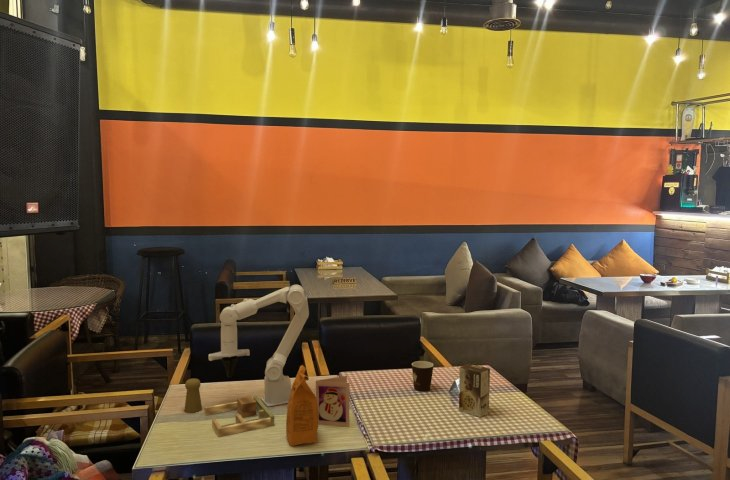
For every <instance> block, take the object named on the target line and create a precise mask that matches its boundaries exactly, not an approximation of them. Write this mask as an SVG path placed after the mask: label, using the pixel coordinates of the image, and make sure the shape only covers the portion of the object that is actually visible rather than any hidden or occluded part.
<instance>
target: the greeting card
mask: <svg viewBox="0 0 730 480" xmlns="http://www.w3.org/2000/svg"><path fill="white" fill-rule="evenodd" d="M350 383H351V382H348V375H343V376H342V375H341V376H337V377H330V378H324V379H318V380H315V397H316V400H317V407H318V420H319V421H318V426H319V425H320V426H322V425H323V426H335V427H348V428H349V427H350V398H351V395H350V387H351V386H350Z"/></svg>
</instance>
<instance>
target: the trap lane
mask: <svg viewBox="0 0 730 480" xmlns="http://www.w3.org/2000/svg"><path fill="white" fill-rule="evenodd" d="M252 398H253V399H254V400H255V401H256V411H257V412H258V418H254V419H249V420H245V419H244V418H242V417H241V415H240V414H235V416H234V417H235V422H234V423H228V424H223V425H221V424H220V423H219V421H218V420H217V418H212V419H211V422H212V424H211V425H212V426H211V427H212V428H214V429H213V430H214V432H215V434H216V435H217V437H224V436H229V435H235V434H239V433H244V432H249V431H253V430H254V431H255V430H258V429H259V430H260V429H263V428H269V427H274V426H275V415H274V414H273V413H272V412H271V411H270V409H269V408H267V406H266V404H265V403H264V402H263V401H262V400H261V399H260V398H259V397H258V395H257V396H255V395H254V396H252ZM236 409H237V401H232V402H227V403H221V404H217V405H211V406H205V407H204V415H205V416H210V415H211V416H212V415H215V414H214V413H216V414H221V413H220V412H222V413H226V412H225V411H227V412H232V411H231V410H233V411H237V410H236Z"/></svg>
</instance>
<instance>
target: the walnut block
mask: <svg viewBox="0 0 730 480" xmlns="http://www.w3.org/2000/svg"><path fill="white" fill-rule="evenodd" d="M236 402H237V410H236V411H237V413H239V414H240V415H241V417H242V418H243V419H246V418H251V417H256V416H257V409H256V401H255V400H254V399H253V396H252V395H249V396H244V397H239V398H237V401H236Z"/></svg>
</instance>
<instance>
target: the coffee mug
mask: <svg viewBox="0 0 730 480" xmlns="http://www.w3.org/2000/svg"><path fill="white" fill-rule="evenodd" d="M411 370H412V379H413V389H414V391H416V392H419V393H425V392H426V393H427V392H430V390H431V385H432V380H433V373H434V372H433V371H434V363H433V362H430V361H427V360H418V361H414V362H412V363H411Z"/></svg>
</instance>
